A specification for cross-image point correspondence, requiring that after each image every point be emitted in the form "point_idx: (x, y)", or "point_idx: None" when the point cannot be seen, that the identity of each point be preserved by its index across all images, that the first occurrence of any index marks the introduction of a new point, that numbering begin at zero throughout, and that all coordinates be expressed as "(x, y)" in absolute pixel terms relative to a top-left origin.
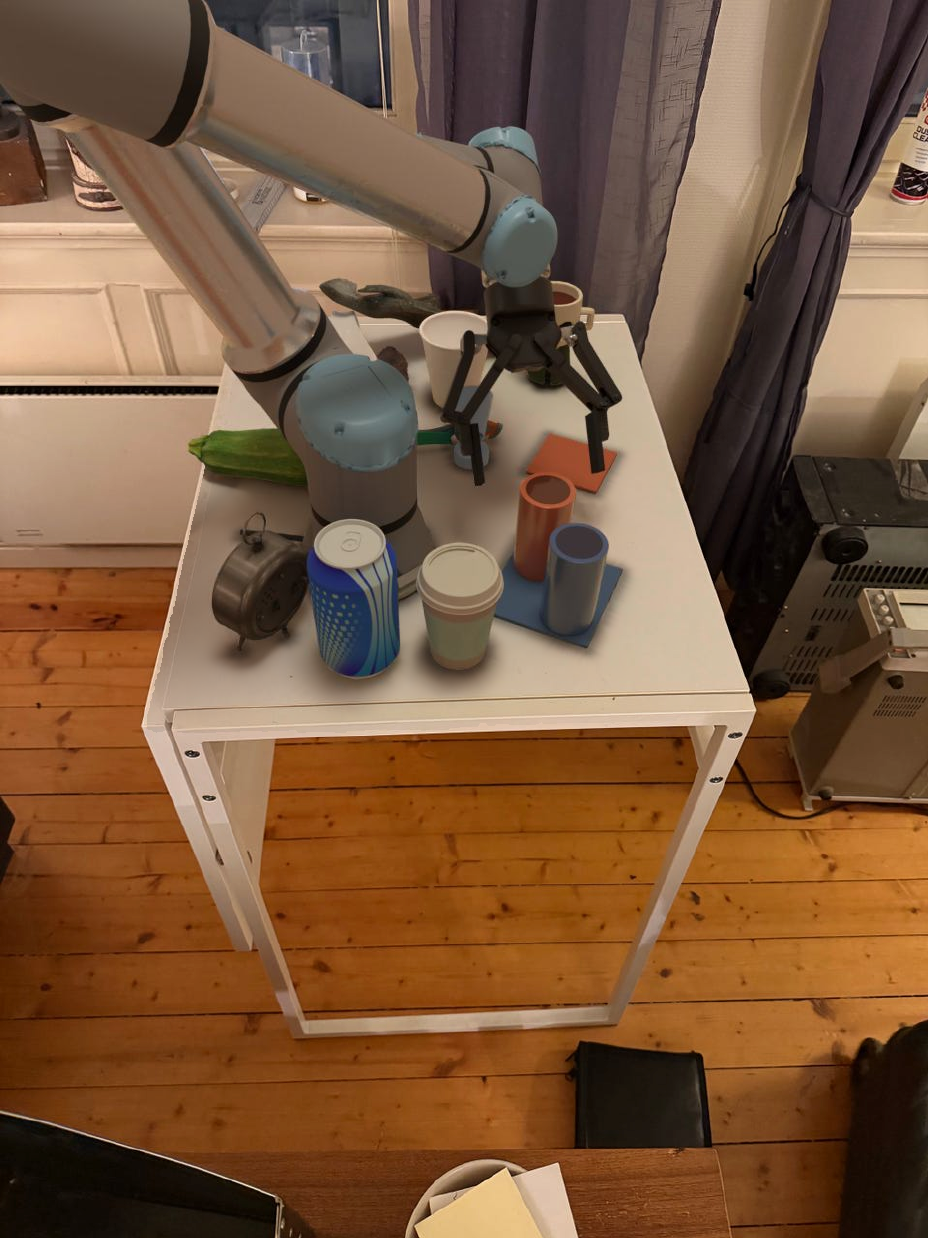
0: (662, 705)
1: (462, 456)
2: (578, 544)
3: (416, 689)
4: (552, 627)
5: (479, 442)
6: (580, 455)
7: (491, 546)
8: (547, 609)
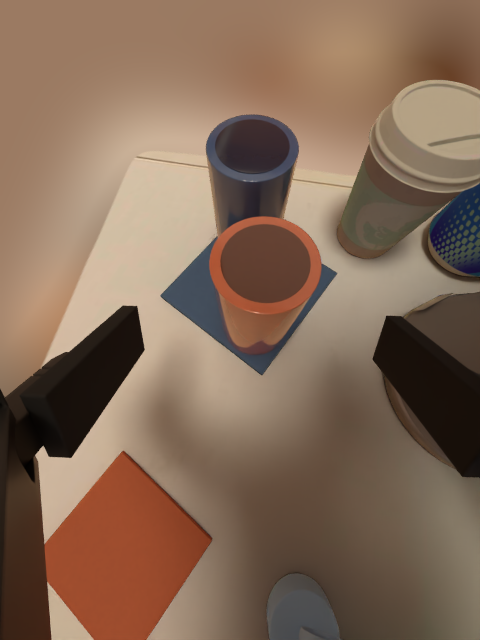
0: (200, 157)
1: (327, 607)
2: (255, 140)
3: None
4: None
5: (452, 368)
6: (99, 567)
7: (304, 371)
8: None
